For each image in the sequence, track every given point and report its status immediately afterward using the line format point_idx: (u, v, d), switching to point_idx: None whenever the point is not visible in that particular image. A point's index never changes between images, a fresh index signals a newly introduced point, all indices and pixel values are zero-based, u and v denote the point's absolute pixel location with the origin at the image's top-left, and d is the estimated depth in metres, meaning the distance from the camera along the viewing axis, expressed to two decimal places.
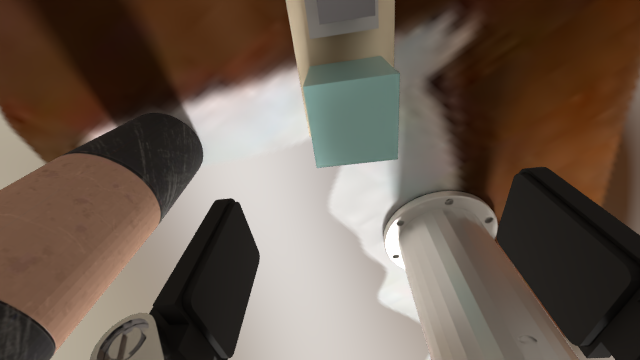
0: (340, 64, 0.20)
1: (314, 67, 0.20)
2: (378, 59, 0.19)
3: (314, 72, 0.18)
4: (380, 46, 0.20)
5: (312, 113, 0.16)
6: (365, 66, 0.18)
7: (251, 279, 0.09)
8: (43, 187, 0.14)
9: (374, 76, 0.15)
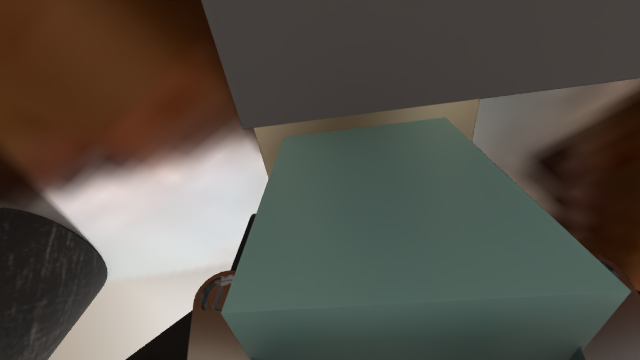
0: (353, 142, 0.08)
1: (292, 144, 0.09)
2: (448, 134, 0.08)
3: (287, 176, 0.07)
4: None
5: None
6: (427, 171, 0.06)
7: None
8: None
9: (510, 289, 0.04)
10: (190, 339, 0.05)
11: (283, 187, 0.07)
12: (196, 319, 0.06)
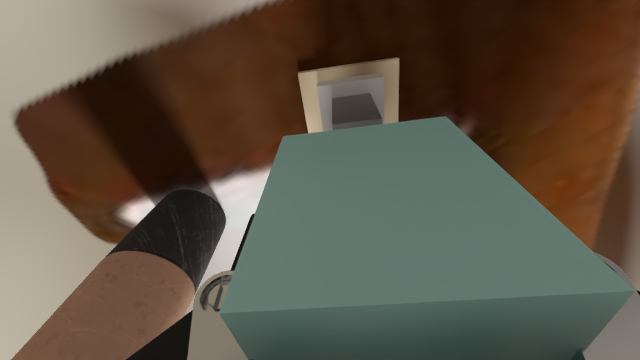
0: (353, 141, 0.08)
1: (292, 144, 0.09)
2: (449, 133, 0.08)
3: (286, 175, 0.07)
4: None
5: None
6: (427, 169, 0.06)
7: None
8: (109, 295, 0.17)
9: (512, 288, 0.04)
10: (190, 339, 0.05)
11: (282, 186, 0.07)
12: (196, 319, 0.06)
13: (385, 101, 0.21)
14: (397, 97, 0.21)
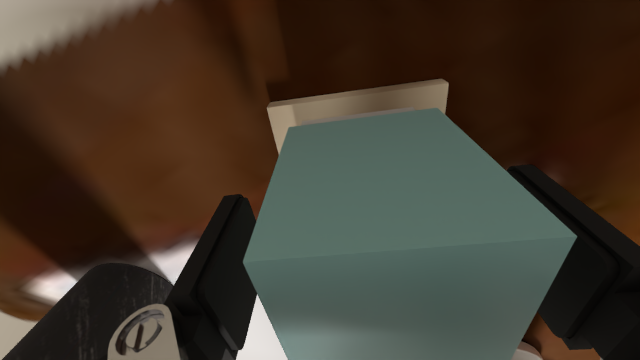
0: (352, 130, 0.09)
1: (297, 133, 0.10)
2: (439, 122, 0.09)
3: (293, 159, 0.08)
4: None
5: (280, 311, 0.06)
6: (418, 152, 0.07)
7: None
8: None
9: (481, 238, 0.04)
10: None
11: (290, 168, 0.07)
12: None
13: None
14: None
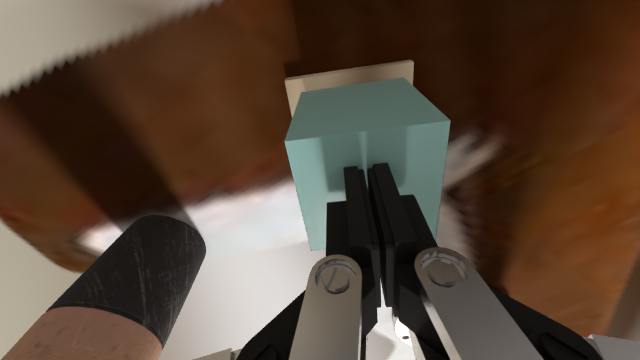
0: (345, 91, 0.13)
1: (307, 94, 0.14)
2: (402, 84, 0.13)
3: (306, 106, 0.12)
4: None
5: (301, 179, 0.10)
6: (384, 98, 0.12)
7: None
8: None
9: (406, 124, 0.09)
10: (301, 309, 0.05)
11: (305, 109, 0.12)
12: (309, 292, 0.06)
13: None
14: None
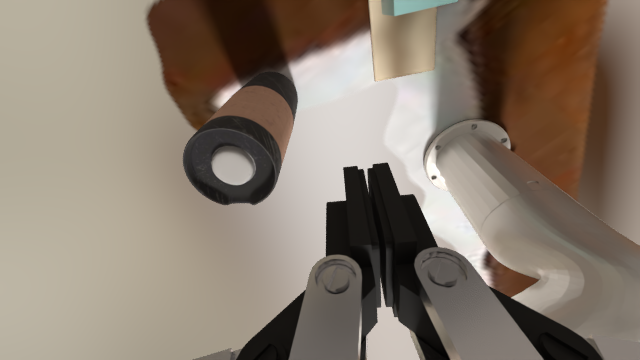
0: None
1: None
2: None
3: None
4: (427, 12, 0.31)
5: None
6: None
7: None
8: (255, 96, 0.25)
9: None
10: (301, 309, 0.05)
11: None
12: (309, 292, 0.06)
13: None
14: None
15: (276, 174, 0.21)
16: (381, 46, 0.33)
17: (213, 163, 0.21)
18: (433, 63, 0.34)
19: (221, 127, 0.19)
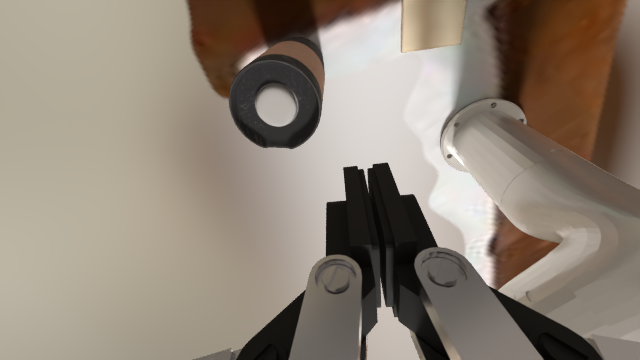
0: None
1: None
2: None
3: None
4: None
5: None
6: None
7: None
8: (294, 46, 0.25)
9: None
10: (301, 309, 0.05)
11: None
12: (309, 292, 0.06)
13: None
14: None
15: (320, 115, 0.21)
16: (411, 16, 0.33)
17: (258, 100, 0.21)
18: (460, 37, 0.34)
19: (273, 59, 0.19)
